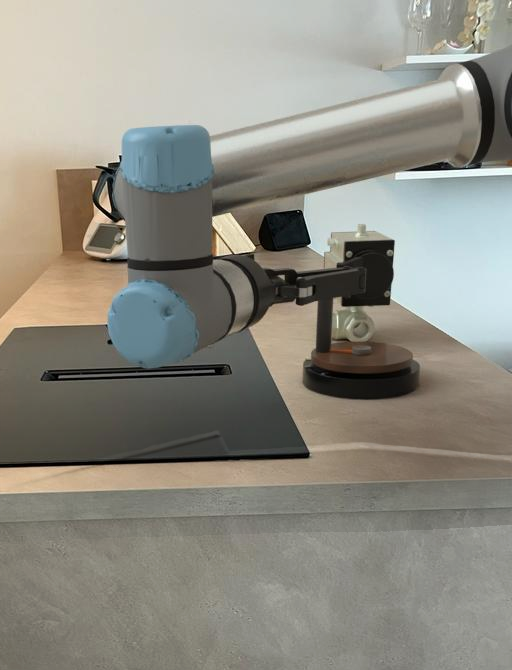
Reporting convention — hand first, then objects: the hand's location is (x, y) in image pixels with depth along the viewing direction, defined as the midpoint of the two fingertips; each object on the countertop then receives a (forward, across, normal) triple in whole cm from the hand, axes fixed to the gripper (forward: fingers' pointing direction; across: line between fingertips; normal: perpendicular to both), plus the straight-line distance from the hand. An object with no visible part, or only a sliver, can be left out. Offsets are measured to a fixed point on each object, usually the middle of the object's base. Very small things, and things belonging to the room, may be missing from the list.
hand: (303, 266), depth 94 cm
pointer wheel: (+9, +5, -13) cm, 17 cm away
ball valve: (+32, -4, -16) cm, 37 cm away
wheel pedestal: (+9, +5, -16) cm, 19 cm away
